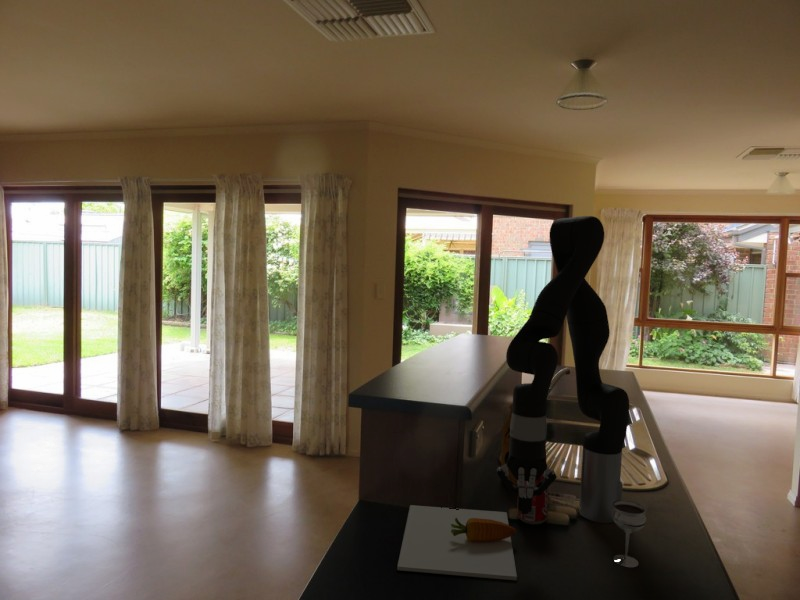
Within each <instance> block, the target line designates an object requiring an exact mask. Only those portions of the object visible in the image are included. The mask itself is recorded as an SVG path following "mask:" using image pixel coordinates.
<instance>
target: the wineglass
mask: <svg viewBox="0 0 800 600" xmlns="http://www.w3.org/2000/svg"><path fill="white" fill-rule="evenodd" d="M613 507H614V509H613V511H612V518H613V521H614V522H613V523H614V524H615V525H616V526H617V527H618V528H619V529H620V530H623V532H624V533H625V546H624V547H625V548H624V549H625V554H616V555H615V556H613V560H614V562H615V563H616V564H618V565H620V566H623V567H626V568H636V567H638V566H639V562H638V560H637V559H636V558H635V557H633V556H630V555H628V552H629V541H630V534H632V533H635V532H639V530H642V529H643V528H644V527H645V525H646V523H647V522H646V521H647V517H646V516H647V515H646V514H645V513H646V512H647V508H646V507H645V505H643V504H641V503H639V502H636V501H633V500H627V499H622V500H618V501H615V502H613Z"/></svg>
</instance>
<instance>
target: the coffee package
mask: <svg viewBox="0 0 800 600" xmlns="http://www.w3.org/2000/svg"><path fill="white" fill-rule="evenodd" d="M508 407H509V409H510V413H509V415H508V416H507V418H506V421H505V423H504V426H503V428H502V430H501V446H500V447H501V455H500V467H502V466H503V465H505V464H506V460H507V459H508V457H509V444H510V423H511V417H512V407H513V402H512V403H511V404H510V405H509V406H508ZM545 461H546V463H547V464H548V461H547V449H546V450H545ZM508 473H509V474H508V477H509V478H510V480H511V481H512V482H513V484H514V485H515V486H517V487H518V484H517V479H515V477H514V476H513V474H512V473H511V471H510V470H509V469H508Z"/></svg>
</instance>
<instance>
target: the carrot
mask: <svg viewBox="0 0 800 600" xmlns="http://www.w3.org/2000/svg"><path fill="white" fill-rule="evenodd" d="M455 522H456V523H457V524H458V525H459V526H457V525H454V524H451V527H453V528H457V529H460V530H456V529H452V530H451V533H452V534H453V535H454V536H456V535H458V534H463V533H466V536H467V539H468V540H469V541H470V542H491V541H498V540H503V539H505V538H508V537H512V536H514V535H515V534H516V533H517V530H516V528H515V527H513V526H511V525H510V524H509V525H507V524H505V523H502V522H499V521H494V520H490V519H479V518H470V519H469V520H468V521H467V523H466V526H464V525H463V524H461V523H460V522H459V521H458V519H457V518H455Z"/></svg>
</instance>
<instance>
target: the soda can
mask: <svg viewBox="0 0 800 600" xmlns="http://www.w3.org/2000/svg"><path fill="white" fill-rule="evenodd" d="M544 472H545V471H544ZM543 474H544V473H543ZM543 474H542V475H541V476H540V477H539V478H538V479H537V480H536V481H535V485H534V487H535V486H536V485H537V484H538V483H539V482H540V481H541V479H542V478H543V477H544V475H543ZM524 484H525V487H524V492H525V494H526V484H527V481H524ZM548 493H549V487H548V488H547V489H546V490H545V491H544V492H543V493H542V494H541V495H540V496H537V495H536V496H534V497H533V498H532V510H531V512H528V514H521V511H519V510H518V503H517V506H516V507H517V508H516V510H517V511H516V513H517V514H516V515H517V517H518V518H519V519H520V521H521V522H523V523H525V524H527V525H532V526H533V525H535V526H536V525H542V524H543V523H544V522H545V521H546V520H547V518H548V497H549V496H548Z"/></svg>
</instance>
